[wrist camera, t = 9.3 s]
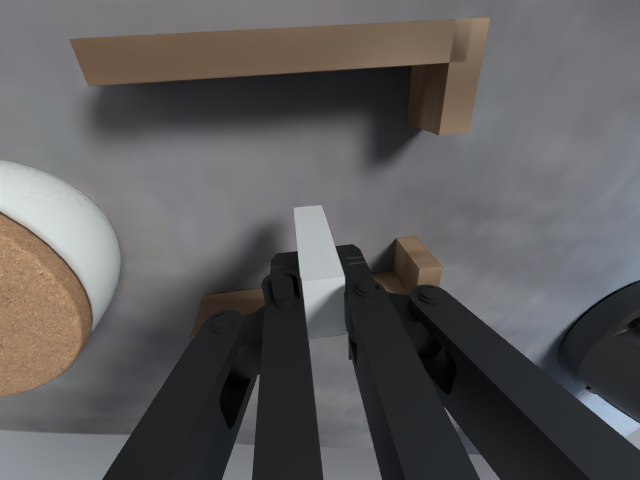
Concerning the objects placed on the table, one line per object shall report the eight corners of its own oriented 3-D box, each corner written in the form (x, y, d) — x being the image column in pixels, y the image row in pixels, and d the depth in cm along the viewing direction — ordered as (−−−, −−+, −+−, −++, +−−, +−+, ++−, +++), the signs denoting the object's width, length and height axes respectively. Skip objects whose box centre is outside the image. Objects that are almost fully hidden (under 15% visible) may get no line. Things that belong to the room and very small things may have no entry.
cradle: (409, 283, 24) (432, 318, 20) (209, 310, 22) (196, 352, 19) (441, 31, 15) (490, 17, 12) (120, 48, 14) (69, 38, 10)
